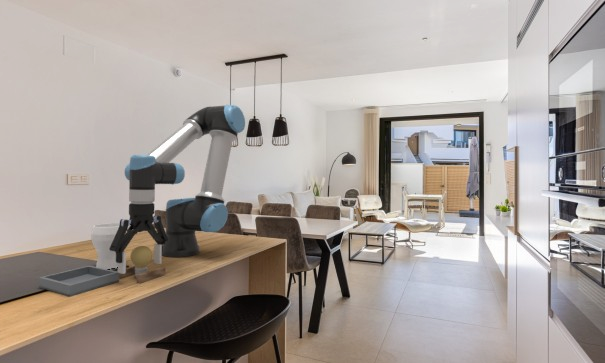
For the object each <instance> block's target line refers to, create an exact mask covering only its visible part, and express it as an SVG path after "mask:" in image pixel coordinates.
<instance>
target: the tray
mask: <svg viewBox="0 0 605 363" xmlns="http://www.w3.org/2000/svg"><path fill="white" fill-rule="evenodd" d="M119 281H120V279H119V273H118V272H117V270H113V269H110V270H107V269H103V268H98V267H96V266H92V265H86V266H82V267H78V268H73V269H69V270H65V271H62V272H61V271H60V272H58V273H53V274H48V275H44V276H39V277H38V288H39V289H42V288H43V290H45V289H46V291H49V292H53V293H56V294H60V295H64V296H67V297H73V296H77V295H81V294H83V293H86V292H89V291H92V290H95V289H99V288H103V287H105V286H108V285H112V284H115V283H118V282H119Z"/></svg>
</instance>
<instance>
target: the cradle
mask: <svg viewBox="0 0 605 363" xmlns="http://www.w3.org/2000/svg"><path fill="white" fill-rule="evenodd" d="M135 267H136V266H135V265H132V266H128V267H126V273H125V274H122V273H119V280H120V279H122V278H127V277H129V276H133V275H134V276H135ZM116 271H117V272H118V269H117V270H116ZM165 275H166V267H163V266H161V267H158V268H155V269H152V270H148V271H147V272H144V273H141V274H138V275H136V276H135V277H136V280H135V282H136V284H142V283H145V282H148V281H151V280H154V279H157V278H160V277H163V276H165Z"/></svg>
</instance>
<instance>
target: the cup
mask: <svg viewBox="0 0 605 363" xmlns="http://www.w3.org/2000/svg"><path fill="white" fill-rule="evenodd" d="M119 225H120V222H110V223H109V222H107V223H99V224H94V225H93V226H92V229H91V230H92V231H91V234H90V237H91V238H90V239H91V242H92V245H93V247H94V249H95V250H96V255H97V260H96V265H95V267H98V268H103V269H110V270H112V269H111V268H115V269H118V268H117V267H118V263H116V252H115V251H110V250H109V248H110V246H111V244H112V242H113V239H114V237H115V235H116V233H117V231H118V228H119Z"/></svg>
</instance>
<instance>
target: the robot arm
mask: <svg viewBox="0 0 605 363" xmlns="http://www.w3.org/2000/svg"><path fill="white" fill-rule="evenodd" d="M245 127H246V117H245V115H244V112H243V110H242V109H241V108H240V107H239V106H238V105H235V104H226V105H215V106H206V107H203V108H200V109H199V110H197V111H196V112H194V113H193V114H191V115H190V116H188V117H187V118H186V119H184V121H183V122H182V125H181V127H179V128H178V129H176V131H174V132H173V133H171V135H169V136H168V137H167V138H166V139H164V140H163V141H162V142H160V144H158V145H157V146H156V147H155V148H154V149H152V150H151V151H150V152H149V153H147V154H132V155H131V157H129V158H130V159H129V163H128V164H127V165H126V166H125V168H124V177H125V178H126V179H127V181H128V182H129V184H128V186H129V187H128V188H129V189H128V194H129V195H128V202H130V203H129V204H128V215H129V219H124V218H121V219H120V221H119V223H120V225H119V228H118V231H117V233H116V235H115V237H114V239H113V242H112V244H111V246H110V248H109V250H110V251H115V252H116V263H118V268H117V270H118V273H122V274H125V273H126V268H127V252H126V251H125V250H126V248H127V247H128V246H129V244H130V243H131V240H132V239H133V238H134V236H135V235H137V234H138V233H141V232H148V234H149V235H150V237H151V238H152V239H153V240H154V241H155V243H154V246H153V264H159V265H160V264H162V256H163V257H168V258H183V257H191V256H196V255H197V254H200V245H199V244H198V240H197V237H196V236H197V235H196V231H197V232H198V231H199V232H204V233H216V232H218V231H220V230H221V229H222V228H223V227H224V226H225V225H226V223H227V220H228V216H229V211H228V208H227V206H226V205H225V200H224V198H223V190H224V187H225V186H224V185H225V181H226V175H227V169H228V166H229V161H230V156H231V150H232V144H233V142H234V141H236V140H237V138H238V133H239V134H240V133H242V132H243V131H244V129H245ZM205 135H209V136H211V139H210V140H211V141H210V146H209V150H208V154H207V159H206V164H205V167H204V168H205V169H204V174H203V177H202V178H203V179H202V181H201V182H202V183H201V187H200V191H199V193H198V194H196V195H195V197H185V198H176V199H169V200H168V201H166V204H165V205H166V208H165V227H164V225H163V223H162V216H161V215H154V214H155V203H154V202H155V201H156V200H155V196H156V194H155V193H156V191H155V189H156V185H178V184H181V183H182V182H183V181H184V178H185V174H186V172H185V169H184V167H183V165H182V164H180V163H176V162H172V160H175V158H176V157H178V155H180V154H181V153H182V152H183V151H184V150H185V149H186V148H187V147H188V146H189V145H191V144H192V143H193V142H194V141H195V140H199V139H201V138H202V137H203V136H205Z"/></svg>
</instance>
